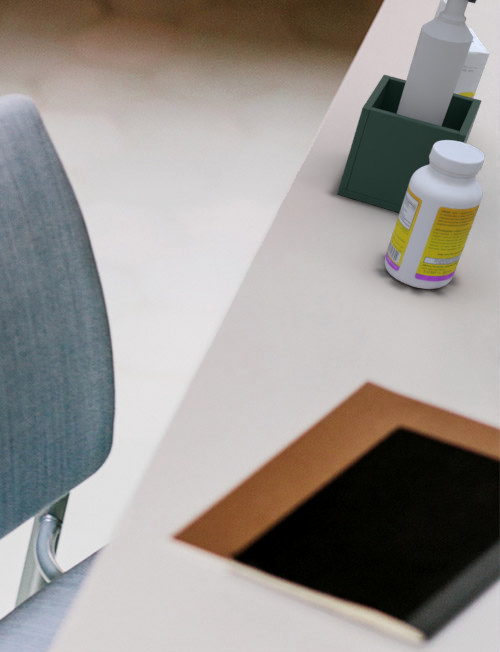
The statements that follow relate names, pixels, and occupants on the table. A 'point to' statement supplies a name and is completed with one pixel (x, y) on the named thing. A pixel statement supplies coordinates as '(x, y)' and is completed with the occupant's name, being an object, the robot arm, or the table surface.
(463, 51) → the bottle
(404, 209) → the supplement bottle
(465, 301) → the table surface
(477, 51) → the ink box
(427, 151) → the bin
